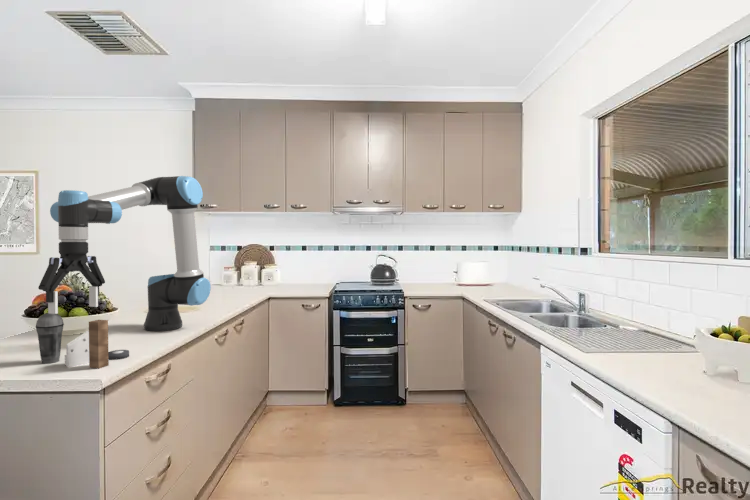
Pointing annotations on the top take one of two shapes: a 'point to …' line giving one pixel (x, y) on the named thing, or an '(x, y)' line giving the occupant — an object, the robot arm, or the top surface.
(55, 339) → the beverage cup
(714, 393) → the top surface
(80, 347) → the white angled block
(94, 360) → the walnut post
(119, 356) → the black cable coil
